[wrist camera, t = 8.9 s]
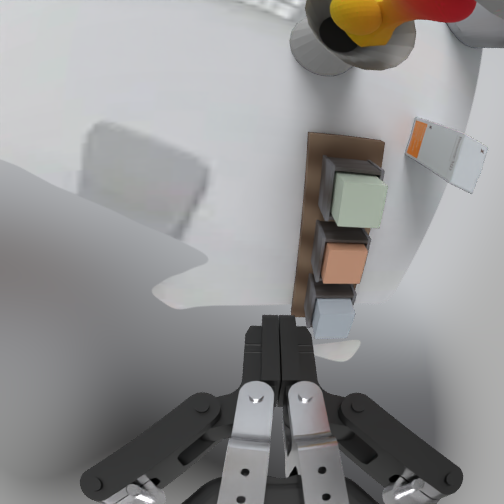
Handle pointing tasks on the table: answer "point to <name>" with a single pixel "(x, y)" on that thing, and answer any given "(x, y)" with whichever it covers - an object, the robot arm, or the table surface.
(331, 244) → the terracotta block
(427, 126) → the skincare box
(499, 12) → the lava lamp
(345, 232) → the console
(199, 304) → the table surface
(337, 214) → the sage block
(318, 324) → the grey block
